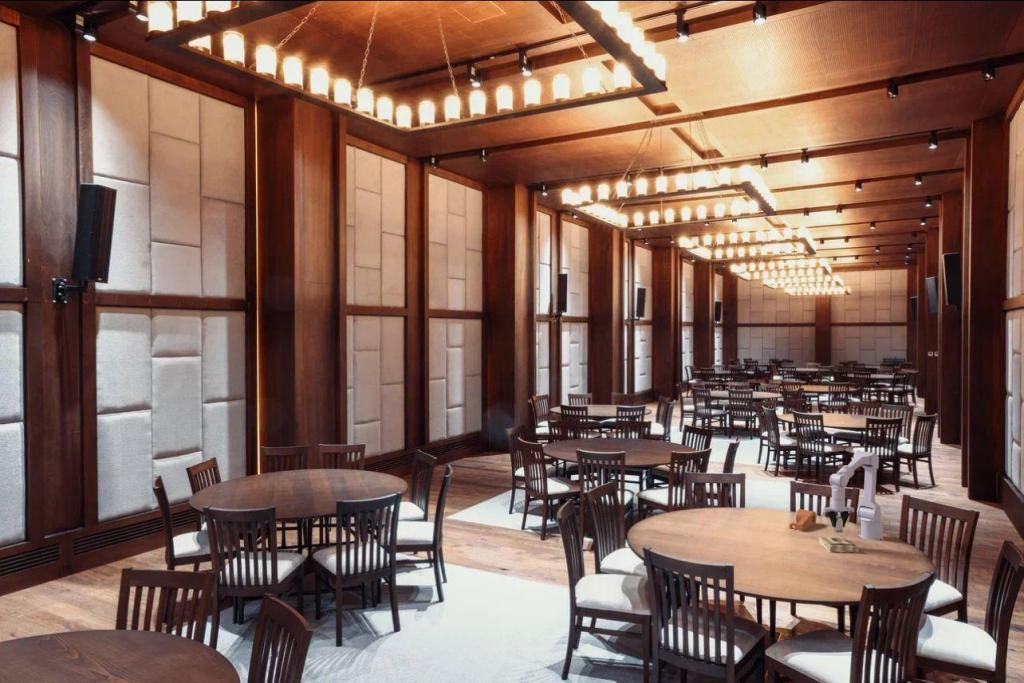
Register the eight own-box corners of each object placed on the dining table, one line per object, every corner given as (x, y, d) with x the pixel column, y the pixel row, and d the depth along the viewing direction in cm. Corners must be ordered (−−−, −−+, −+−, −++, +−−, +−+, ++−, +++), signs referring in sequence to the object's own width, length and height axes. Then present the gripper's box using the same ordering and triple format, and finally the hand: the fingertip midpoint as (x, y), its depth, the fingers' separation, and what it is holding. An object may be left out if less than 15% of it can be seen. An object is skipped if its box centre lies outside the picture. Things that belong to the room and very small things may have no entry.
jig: (846, 543, 338) (846, 536, 338) (858, 552, 324) (858, 545, 324) (819, 543, 339) (819, 536, 339) (829, 552, 325) (829, 544, 325)
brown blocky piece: (801, 522, 378) (801, 507, 378) (816, 524, 373) (816, 510, 373) (786, 529, 364) (786, 514, 364) (801, 532, 359) (801, 517, 358)
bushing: (844, 532, 332) (844, 517, 332) (837, 532, 332) (837, 518, 332) (839, 529, 336) (839, 515, 336) (832, 530, 336) (832, 516, 336)
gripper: (848, 496, 338) (848, 524, 339) (819, 497, 338) (819, 524, 338) (856, 500, 331) (856, 528, 331) (826, 500, 331) (826, 528, 331)
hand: (838, 526), depth 334 cm, fingers closed on bushing, 4 cm apart
